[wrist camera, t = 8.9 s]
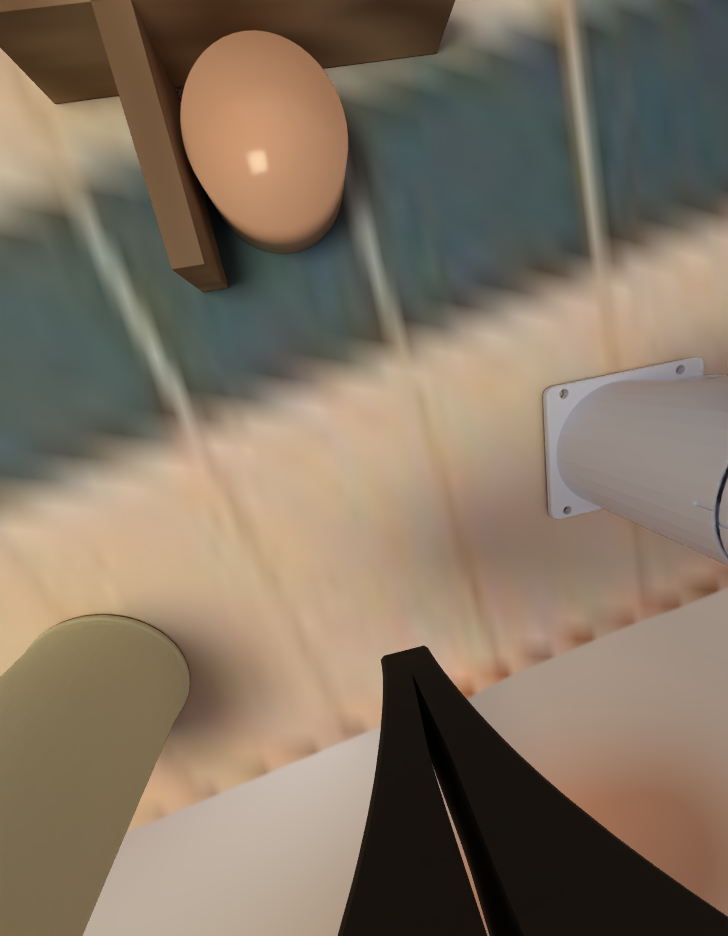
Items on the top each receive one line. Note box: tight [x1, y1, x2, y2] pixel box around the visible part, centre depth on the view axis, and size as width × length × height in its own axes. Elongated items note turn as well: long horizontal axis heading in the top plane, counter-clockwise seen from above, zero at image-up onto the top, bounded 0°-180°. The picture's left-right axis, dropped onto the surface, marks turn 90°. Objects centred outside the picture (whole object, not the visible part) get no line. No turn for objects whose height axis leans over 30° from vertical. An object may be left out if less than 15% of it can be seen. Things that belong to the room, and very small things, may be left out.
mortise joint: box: [0, 0, 455, 292], centre depth 14 cm, size 16×9×4 cm, turn 101°
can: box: [0, 615, 190, 936], centre depth 15 cm, size 9×9×12 cm
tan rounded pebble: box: [180, 30, 348, 254], centre depth 14 cm, size 6×6×3 cm
